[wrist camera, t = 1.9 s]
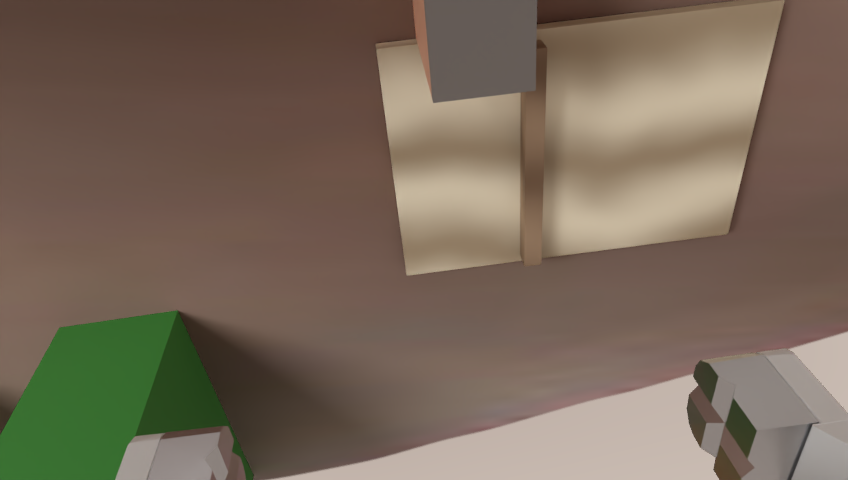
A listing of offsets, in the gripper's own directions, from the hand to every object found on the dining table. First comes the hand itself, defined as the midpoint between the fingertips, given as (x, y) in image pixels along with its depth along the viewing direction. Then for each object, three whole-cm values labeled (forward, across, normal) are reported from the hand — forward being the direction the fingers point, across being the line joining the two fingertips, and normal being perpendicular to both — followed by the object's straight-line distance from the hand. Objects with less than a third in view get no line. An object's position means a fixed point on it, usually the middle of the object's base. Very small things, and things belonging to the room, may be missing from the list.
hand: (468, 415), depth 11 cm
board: (+24, -10, +7) cm, 26 cm away
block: (+23, -3, -4) cm, 24 cm away
